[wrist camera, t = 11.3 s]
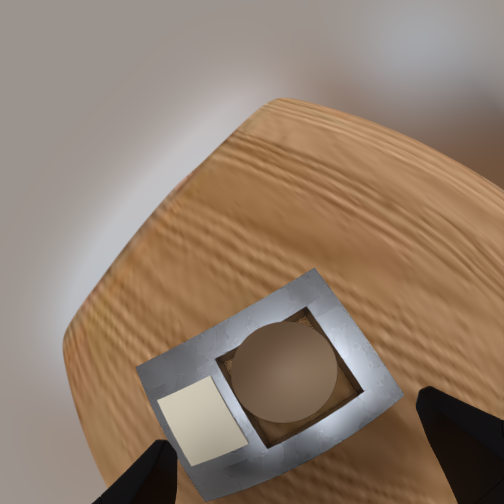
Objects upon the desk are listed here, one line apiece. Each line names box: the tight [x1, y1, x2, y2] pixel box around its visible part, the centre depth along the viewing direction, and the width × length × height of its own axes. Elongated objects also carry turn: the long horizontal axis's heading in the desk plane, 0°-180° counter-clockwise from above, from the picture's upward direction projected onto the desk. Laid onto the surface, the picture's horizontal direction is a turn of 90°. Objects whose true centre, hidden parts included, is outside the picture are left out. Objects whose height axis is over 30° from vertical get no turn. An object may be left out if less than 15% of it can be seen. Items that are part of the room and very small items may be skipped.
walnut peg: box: [231, 321, 337, 423], centre depth 15 cm, size 4×4×10 cm
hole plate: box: [136, 268, 404, 502], centre depth 17 cm, size 12×16×3 cm
